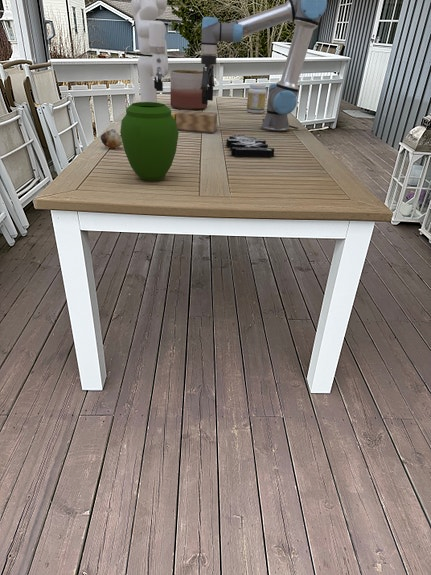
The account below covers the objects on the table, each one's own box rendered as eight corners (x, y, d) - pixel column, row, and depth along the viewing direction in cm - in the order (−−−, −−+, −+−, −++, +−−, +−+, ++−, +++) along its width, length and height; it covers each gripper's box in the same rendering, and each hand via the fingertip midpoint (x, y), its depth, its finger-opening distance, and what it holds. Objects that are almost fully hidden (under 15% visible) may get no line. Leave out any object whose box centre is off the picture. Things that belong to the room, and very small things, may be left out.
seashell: (124, 147, 182) (123, 128, 178) (122, 150, 177) (120, 130, 173) (103, 146, 182) (101, 127, 178) (100, 149, 177) (98, 129, 173)
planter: (201, 104, 296) (202, 70, 284) (212, 110, 276) (213, 73, 264) (166, 104, 289) (166, 69, 277) (175, 110, 268) (175, 73, 257)
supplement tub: (247, 109, 285) (249, 83, 276) (264, 111, 283) (267, 84, 274) (245, 112, 274) (248, 84, 265) (264, 114, 273) (266, 86, 264)
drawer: (162, 127, 218) (161, 113, 215) (167, 124, 226) (167, 110, 223) (206, 131, 215) (207, 117, 211) (210, 127, 223) (210, 114, 219)
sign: (232, 149, 174) (222, 134, 199) (232, 157, 176) (222, 140, 201) (276, 150, 177) (260, 135, 202) (275, 157, 179) (260, 141, 204)
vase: (131, 189, 135) (125, 110, 122) (118, 172, 150) (112, 100, 137) (186, 184, 142) (187, 109, 129) (169, 168, 157) (167, 99, 144)
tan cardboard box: (176, 130, 217) (175, 112, 212) (181, 126, 226) (181, 109, 222) (212, 133, 215) (213, 115, 210) (216, 129, 224) (217, 112, 219)
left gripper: (167, 52, 193) (168, 92, 202) (163, 50, 207) (163, 88, 216) (151, 51, 191) (152, 91, 200) (148, 50, 205) (149, 87, 214)
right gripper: (211, 56, 189) (209, 106, 200) (221, 54, 210) (218, 99, 221) (195, 55, 190) (194, 104, 201) (206, 53, 211) (205, 98, 222)
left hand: (158, 89), depth 208 cm, fingers open, 9 cm apart
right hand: (207, 102), depth 211 cm, fingers open, 13 cm apart
